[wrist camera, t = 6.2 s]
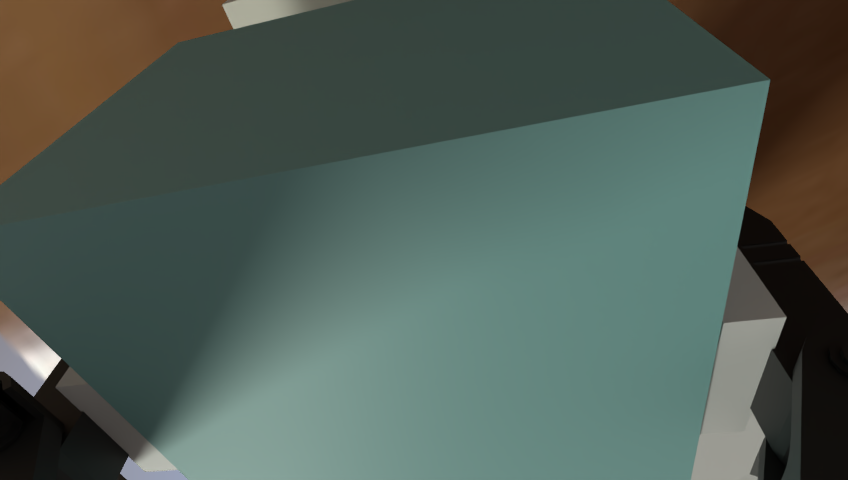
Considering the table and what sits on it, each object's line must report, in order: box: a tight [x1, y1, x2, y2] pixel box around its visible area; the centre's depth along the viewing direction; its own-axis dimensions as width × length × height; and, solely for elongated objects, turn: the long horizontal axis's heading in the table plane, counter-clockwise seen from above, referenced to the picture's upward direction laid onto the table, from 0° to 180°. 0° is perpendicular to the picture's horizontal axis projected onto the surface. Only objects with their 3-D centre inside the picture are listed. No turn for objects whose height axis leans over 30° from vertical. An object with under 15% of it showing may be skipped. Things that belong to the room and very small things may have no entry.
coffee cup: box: [691, 412, 765, 480], centre depth 23 cm, size 9×9×12 cm
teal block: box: [0, 0, 770, 480], centre depth 11 cm, size 9×9×7 cm
